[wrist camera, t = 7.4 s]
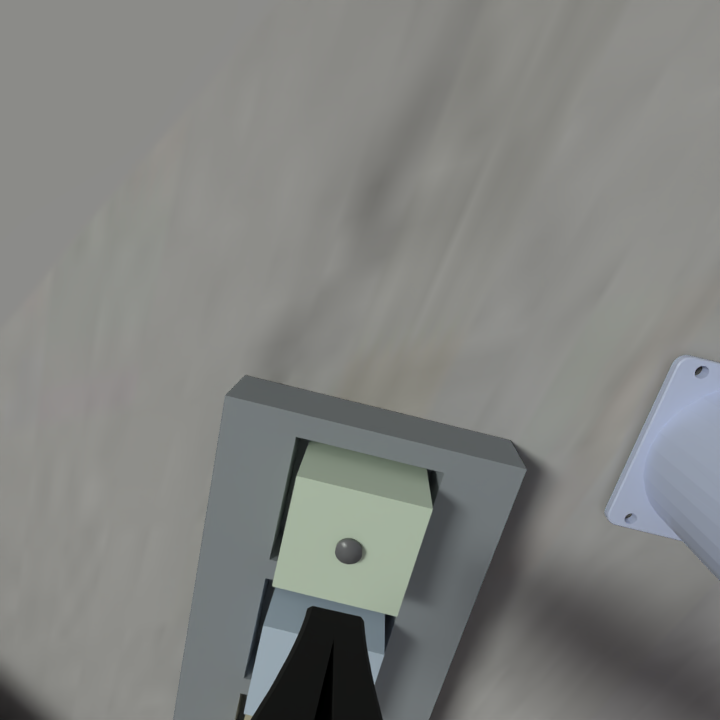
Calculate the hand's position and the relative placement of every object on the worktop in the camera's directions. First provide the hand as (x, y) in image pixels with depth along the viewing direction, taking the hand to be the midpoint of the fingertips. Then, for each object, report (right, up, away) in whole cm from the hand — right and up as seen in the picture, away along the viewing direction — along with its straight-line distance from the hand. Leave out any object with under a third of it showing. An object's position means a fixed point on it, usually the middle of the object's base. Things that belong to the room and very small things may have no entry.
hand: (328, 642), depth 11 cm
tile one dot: (+1, +1, +9) cm, 9 cm away
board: (-1, -5, +12) cm, 13 cm away
